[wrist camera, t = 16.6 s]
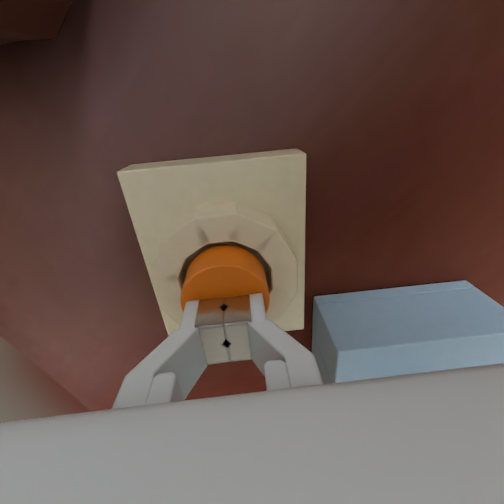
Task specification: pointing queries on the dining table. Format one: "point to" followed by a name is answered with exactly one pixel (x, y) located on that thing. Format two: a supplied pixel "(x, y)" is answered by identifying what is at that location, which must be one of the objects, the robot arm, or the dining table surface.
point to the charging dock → (405, 331)
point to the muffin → (31, 19)
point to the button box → (222, 222)
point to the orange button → (224, 275)
